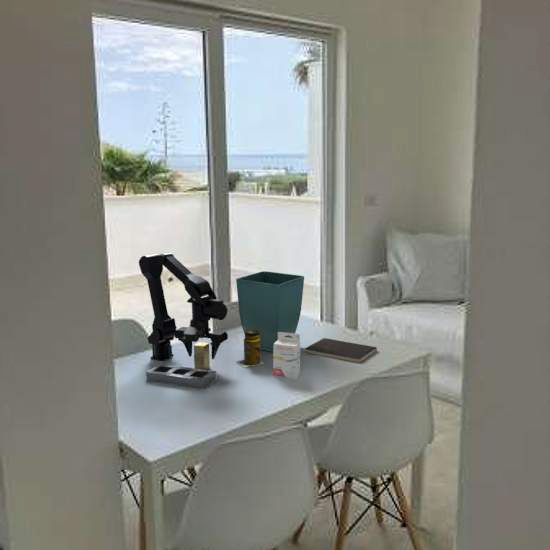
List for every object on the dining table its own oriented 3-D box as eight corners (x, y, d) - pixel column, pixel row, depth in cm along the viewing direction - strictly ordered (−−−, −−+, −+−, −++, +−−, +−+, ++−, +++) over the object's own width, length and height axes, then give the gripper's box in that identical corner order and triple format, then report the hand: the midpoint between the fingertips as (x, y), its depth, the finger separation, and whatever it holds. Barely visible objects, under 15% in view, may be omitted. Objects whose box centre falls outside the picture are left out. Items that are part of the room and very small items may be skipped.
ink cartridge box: (272, 376, 204) (272, 335, 201) (277, 371, 209) (277, 331, 206) (296, 378, 201) (296, 337, 198) (300, 373, 206) (300, 333, 203)
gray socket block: (146, 380, 201) (146, 372, 200) (160, 371, 209) (160, 363, 209) (203, 389, 193) (203, 380, 192) (216, 379, 201) (216, 371, 201)
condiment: (265, 363, 217) (264, 332, 215) (245, 368, 212) (244, 336, 210) (254, 358, 223) (254, 327, 221) (235, 362, 218) (234, 331, 216)
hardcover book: (359, 364, 217) (359, 358, 216) (305, 353, 229) (305, 348, 229) (376, 352, 230) (376, 346, 229) (324, 342, 242) (324, 337, 242)
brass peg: (194, 369, 211) (193, 345, 210) (200, 365, 215) (199, 341, 213) (204, 370, 210) (203, 346, 208) (209, 366, 214) (209, 343, 212)
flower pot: (305, 343, 240) (305, 275, 234) (279, 357, 223) (278, 284, 218) (264, 336, 250) (263, 270, 245) (236, 348, 234) (234, 279, 228)
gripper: (165, 319, 205) (167, 361, 208) (213, 324, 198) (214, 368, 201) (181, 311, 215) (183, 352, 218) (227, 315, 208) (228, 358, 211)
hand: (201, 357), depth 212 cm, fingers open, 9 cm apart
